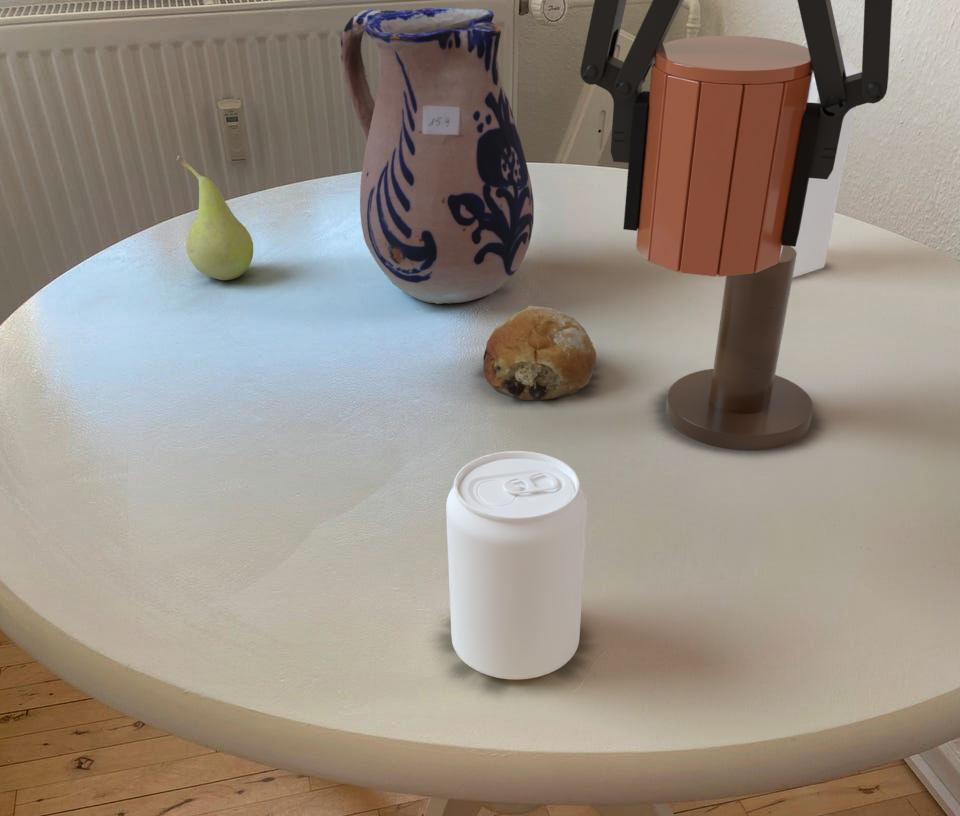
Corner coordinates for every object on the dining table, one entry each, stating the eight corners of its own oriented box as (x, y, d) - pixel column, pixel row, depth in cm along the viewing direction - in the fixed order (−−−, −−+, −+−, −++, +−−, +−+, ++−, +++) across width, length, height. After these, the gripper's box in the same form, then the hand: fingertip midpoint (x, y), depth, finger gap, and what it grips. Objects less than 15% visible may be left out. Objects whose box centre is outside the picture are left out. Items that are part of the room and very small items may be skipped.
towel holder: (814, 392, 93) (847, 231, 84) (804, 460, 84) (840, 288, 75) (677, 375, 96) (696, 217, 87) (654, 440, 87) (672, 272, 78)
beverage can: (436, 619, 70) (428, 460, 62) (551, 594, 71) (557, 437, 64) (474, 699, 64) (470, 535, 56) (598, 670, 66) (611, 506, 58)
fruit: (228, 295, 111) (207, 175, 103) (175, 281, 114) (151, 164, 106) (269, 274, 115) (252, 157, 108) (218, 261, 118) (198, 147, 111)
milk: (824, 268, 114) (871, 38, 100) (785, 281, 112) (829, 47, 98) (781, 251, 118) (821, 27, 104) (743, 264, 116) (779, 35, 101)
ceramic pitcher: (480, 336, 102) (475, 46, 86) (305, 296, 111) (271, 23, 94) (561, 275, 114) (570, 8, 98) (397, 242, 122) (380, -9, 106)
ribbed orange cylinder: (787, 232, 62) (821, 40, 56) (773, 283, 56) (809, 75, 50) (652, 219, 64) (669, 32, 58) (625, 267, 58) (641, 65, 52)
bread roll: (601, 419, 97) (631, 333, 94) (533, 411, 89) (564, 317, 86) (522, 385, 102) (548, 302, 99) (452, 375, 94) (477, 284, 92)
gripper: (521, -314, 44) (514, 234, 59) (1058, -326, 40) (904, 274, 54) (565, -308, 50) (548, 192, 65) (1041, -319, 45) (906, 225, 60)
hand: (711, 229), depth 59 cm, fingers closed on ribbed orange cylinder, 8 cm apart
